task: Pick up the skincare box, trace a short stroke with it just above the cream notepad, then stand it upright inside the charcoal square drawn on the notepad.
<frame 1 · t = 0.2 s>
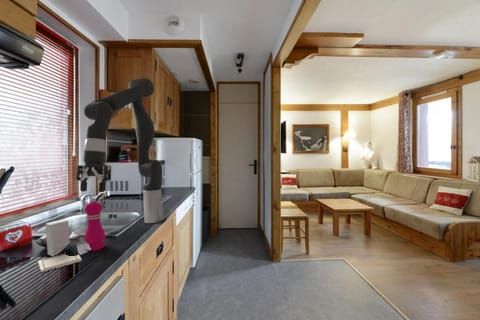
hand: (92, 191, 94), 23 cm above the worktop, tool pointing down, fingers open, 8 cm apart
skincare box: (59, 253, 91), on the worktop
pepper mill: (95, 248, 95), on the worktop
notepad: (60, 261, 84), on the worktop
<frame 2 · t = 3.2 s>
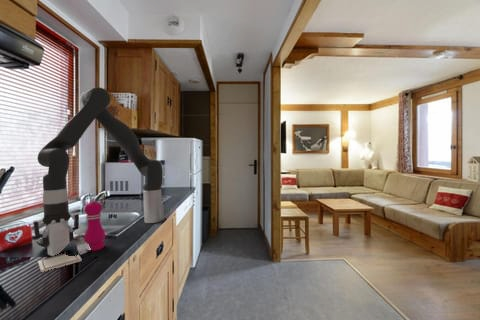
hand: (58, 243, 91), 3 cm above the worktop, tool pointing down, fingers closed on skincare box, 6 cm apart
skincare box: (58, 253, 91), on the worktop, touching gripper
everything else where it was.
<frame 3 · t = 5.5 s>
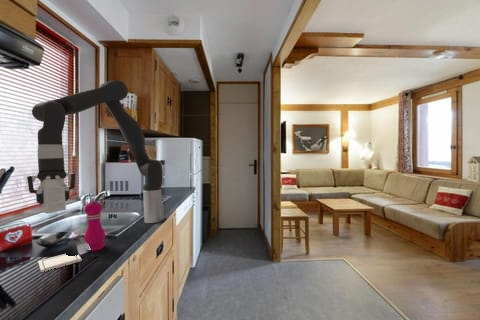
hand: (53, 202, 88), 20 cm above the worktop, tool pointing down, fingers closed on skincare box, 6 cm apart
skincare box: (54, 211, 88), point 16 cm above the worktop, touching gripper
everything else where it was.
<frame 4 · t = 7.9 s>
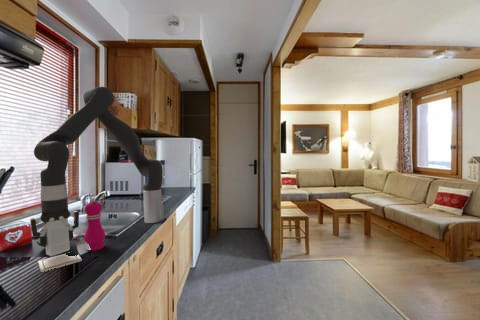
hand: (57, 243, 86), 6 cm above the worktop, tool pointing down, fingers closed on skincare box, 6 cm apart
skincare box: (57, 252, 86), point 2 cm above the worktop, touching gripper
everything else where it was.
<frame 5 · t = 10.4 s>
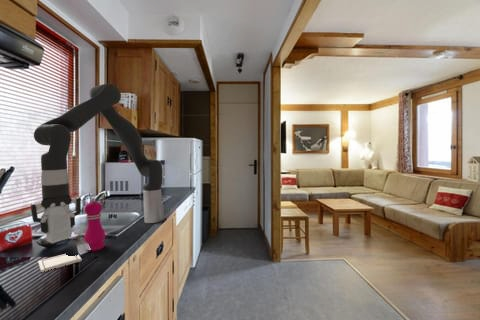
hand: (58, 229, 83), 11 cm above the worktop, tool pointing down, fingers closed on skincare box, 6 cm apart
skincare box: (59, 240, 83), point 8 cm above the worktop, touching gripper
everything else where it was.
when the fingers open (5 cm above the worktop, at t = 12.8 s): skincare box stays where it is, resting on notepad.
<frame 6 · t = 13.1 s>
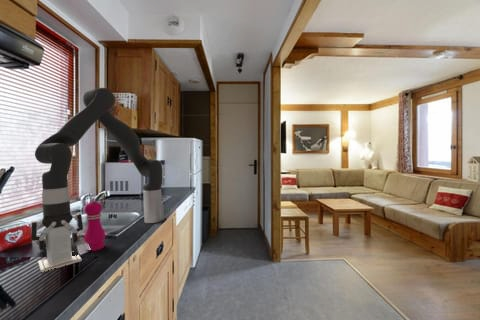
hand: (59, 246, 83), 5 cm above the worktop, tool pointing down, fingers open, 8 cm apart
skincare box: (59, 260, 84), resting on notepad
everything else where it was.
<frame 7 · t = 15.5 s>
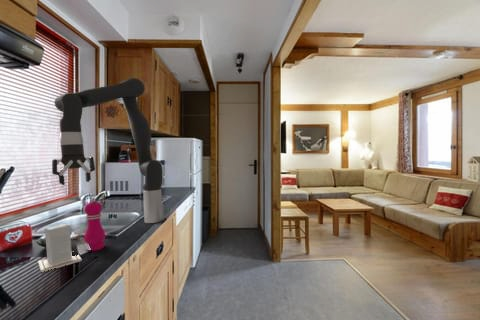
hand: (75, 183, 98), 26 cm above the worktop, tool pointing down, fingers open, 8 cm apart
nothing on the worktop moved.
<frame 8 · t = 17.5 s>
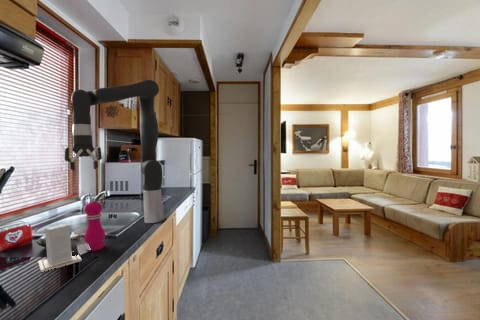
hand: (84, 169, 111), 30 cm above the worktop, tool pointing down, fingers open, 8 cm apart
nothing on the worktop moved.
at the end: skincare box 0.1 cm off-centre on the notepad, point 0.4 cm above the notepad's base; skincare box tilted 0°; the gripper is holding nothing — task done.
